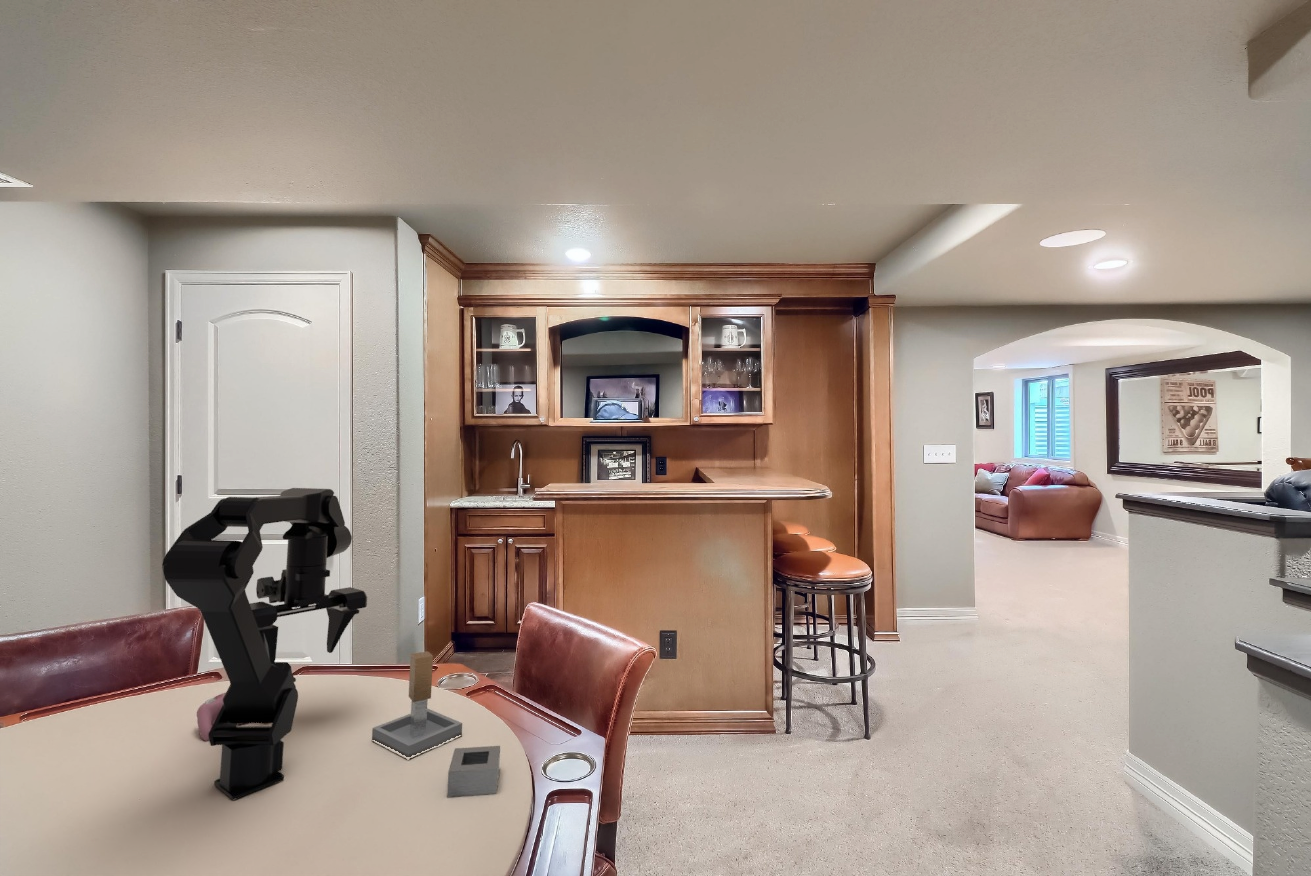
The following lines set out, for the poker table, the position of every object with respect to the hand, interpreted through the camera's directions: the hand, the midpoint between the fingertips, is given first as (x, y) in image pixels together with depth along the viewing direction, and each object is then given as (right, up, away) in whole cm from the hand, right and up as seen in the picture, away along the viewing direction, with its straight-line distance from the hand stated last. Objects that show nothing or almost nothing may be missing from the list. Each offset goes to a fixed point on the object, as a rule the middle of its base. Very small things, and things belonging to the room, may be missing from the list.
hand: (301, 659), depth 96 cm
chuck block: (+32, -14, -11) cm, 37 cm away
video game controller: (-14, -13, +3) cm, 19 cm away
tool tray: (+19, -14, +1) cm, 23 cm away
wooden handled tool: (+19, -13, +1) cm, 23 cm away
